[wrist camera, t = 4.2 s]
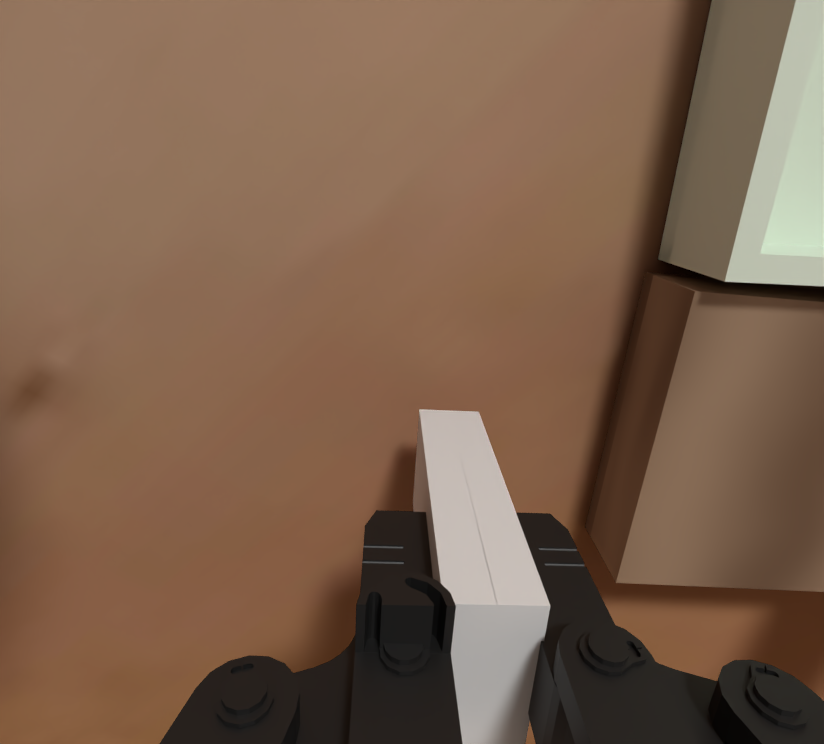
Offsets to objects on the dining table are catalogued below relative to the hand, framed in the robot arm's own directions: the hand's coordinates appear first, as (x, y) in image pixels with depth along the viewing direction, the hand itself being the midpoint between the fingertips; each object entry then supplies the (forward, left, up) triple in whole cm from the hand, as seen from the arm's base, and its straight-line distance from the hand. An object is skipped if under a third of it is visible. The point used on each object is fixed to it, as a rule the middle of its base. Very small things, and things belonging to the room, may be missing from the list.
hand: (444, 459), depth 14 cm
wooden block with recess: (+12, 0, -2) cm, 12 cm away
